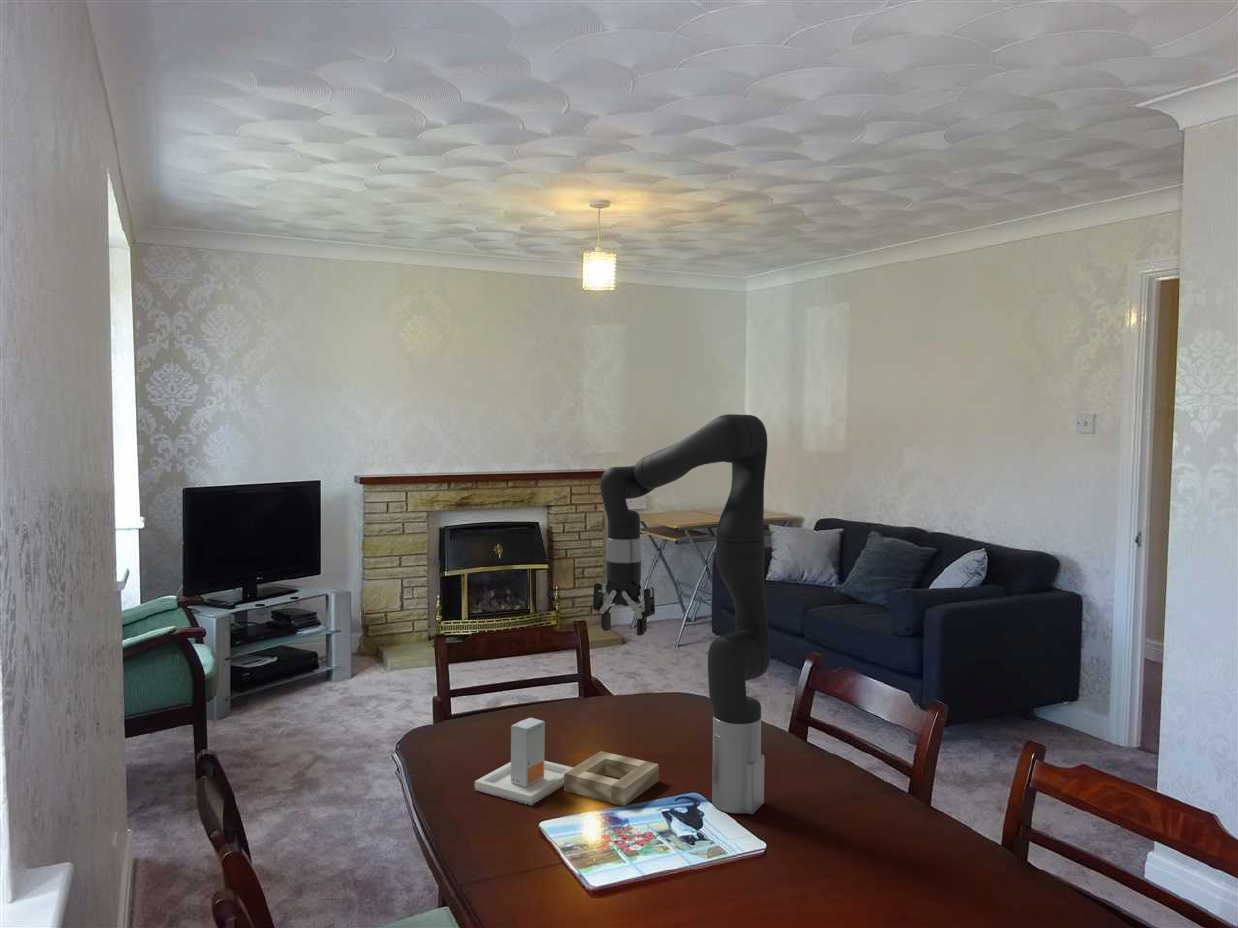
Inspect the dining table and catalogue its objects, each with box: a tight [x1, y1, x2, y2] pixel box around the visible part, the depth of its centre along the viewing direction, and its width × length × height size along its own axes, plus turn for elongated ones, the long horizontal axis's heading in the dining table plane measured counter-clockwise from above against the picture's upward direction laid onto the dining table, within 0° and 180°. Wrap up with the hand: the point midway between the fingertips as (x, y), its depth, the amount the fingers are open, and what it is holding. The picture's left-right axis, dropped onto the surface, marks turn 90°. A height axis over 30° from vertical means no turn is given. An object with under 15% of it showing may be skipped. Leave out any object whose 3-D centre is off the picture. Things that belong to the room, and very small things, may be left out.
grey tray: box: [474, 760, 574, 806], centre depth 178 cm, size 14×16×2 cm
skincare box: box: [510, 717, 546, 787], centre depth 178 cm, size 6×4×12 cm
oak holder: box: [563, 750, 660, 807], centre depth 177 cm, size 14×14×4 cm
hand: (623, 632), depth 190 cm, fingers open, 8 cm apart
